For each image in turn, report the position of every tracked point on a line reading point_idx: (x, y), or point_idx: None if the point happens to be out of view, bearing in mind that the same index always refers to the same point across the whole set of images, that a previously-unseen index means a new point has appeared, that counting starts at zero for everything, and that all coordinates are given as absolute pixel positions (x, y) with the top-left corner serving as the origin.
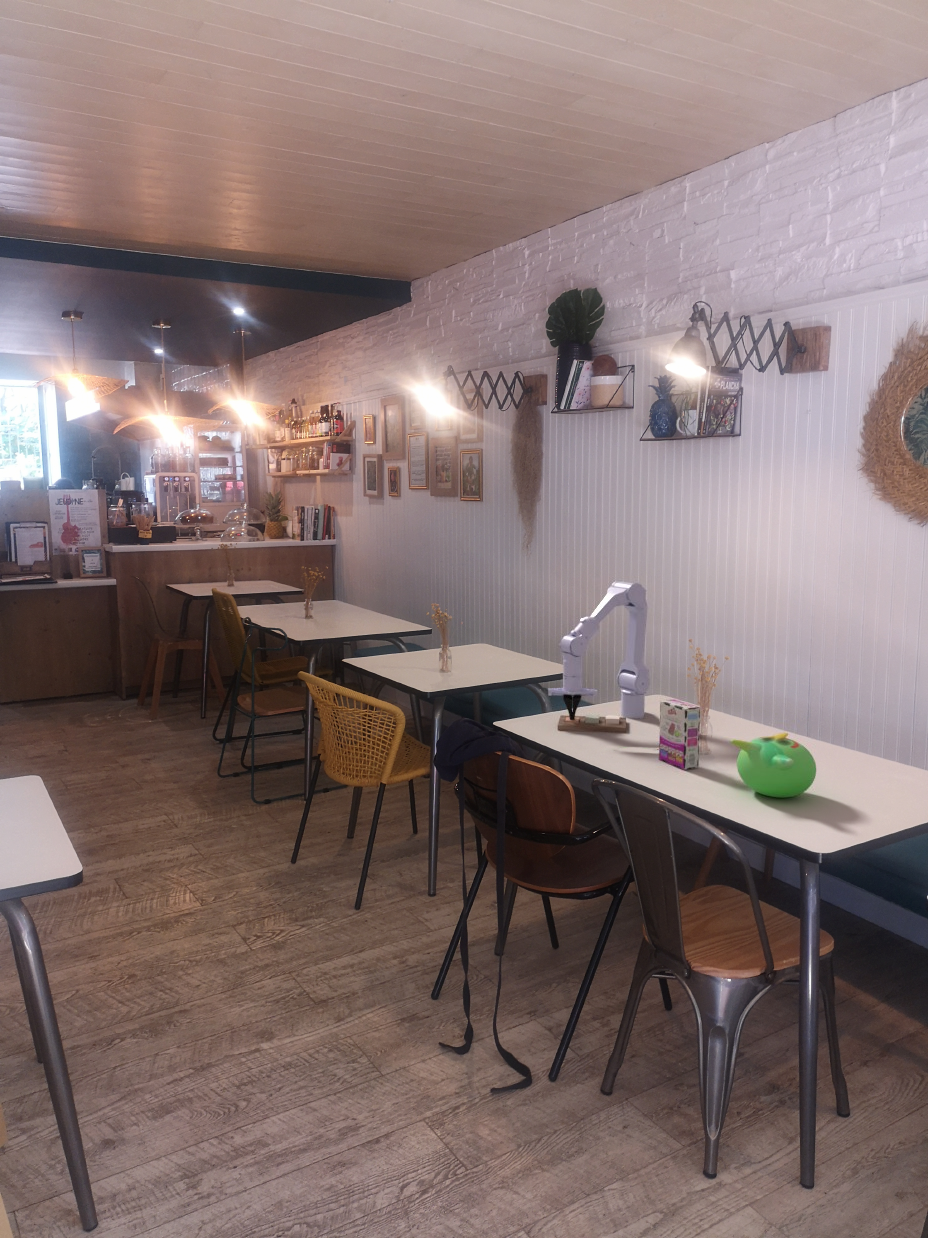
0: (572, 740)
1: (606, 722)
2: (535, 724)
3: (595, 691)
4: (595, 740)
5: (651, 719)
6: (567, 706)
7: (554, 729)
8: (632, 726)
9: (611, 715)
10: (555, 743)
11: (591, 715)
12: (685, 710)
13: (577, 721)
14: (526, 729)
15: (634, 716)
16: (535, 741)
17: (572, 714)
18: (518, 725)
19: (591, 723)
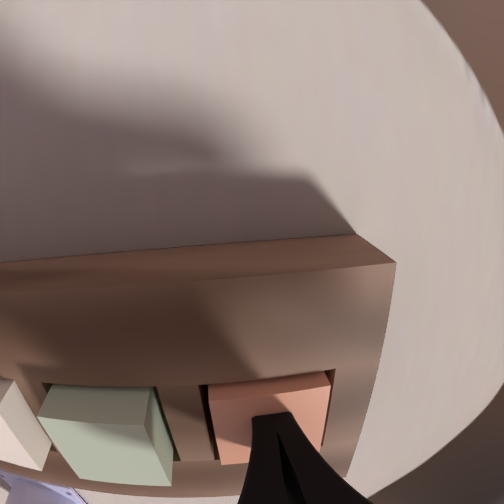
0: (223, 96)
1: (3, 388)
2: (440, 399)
3: None
4: (45, 148)
5: None
6: (353, 499)
7: None
8: None
9: (13, 463)
10: (346, 5)
11: (123, 474)
12: None
13: (218, 395)
14: (492, 310)
15: (20, 493)
16: (465, 62)
17: (276, 447)
18: (500, 357)
19: (93, 378)
